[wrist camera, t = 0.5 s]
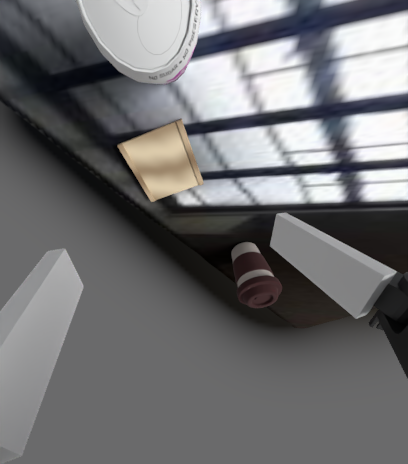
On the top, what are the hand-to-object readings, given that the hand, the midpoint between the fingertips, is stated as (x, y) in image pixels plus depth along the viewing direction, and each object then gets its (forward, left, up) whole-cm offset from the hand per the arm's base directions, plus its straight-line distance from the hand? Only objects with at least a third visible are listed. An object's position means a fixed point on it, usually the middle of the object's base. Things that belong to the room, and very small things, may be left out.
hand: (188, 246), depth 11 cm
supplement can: (-12, +2, -25) cm, 28 cm away
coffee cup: (+31, +6, -25) cm, 40 cm away
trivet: (+2, -4, -25) cm, 25 cm away
